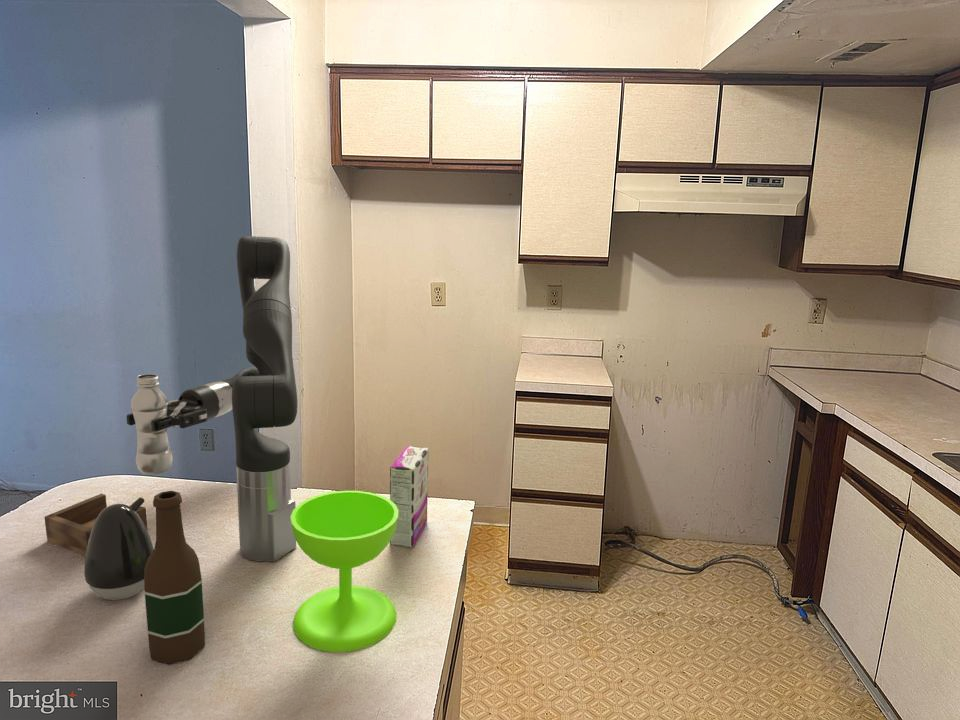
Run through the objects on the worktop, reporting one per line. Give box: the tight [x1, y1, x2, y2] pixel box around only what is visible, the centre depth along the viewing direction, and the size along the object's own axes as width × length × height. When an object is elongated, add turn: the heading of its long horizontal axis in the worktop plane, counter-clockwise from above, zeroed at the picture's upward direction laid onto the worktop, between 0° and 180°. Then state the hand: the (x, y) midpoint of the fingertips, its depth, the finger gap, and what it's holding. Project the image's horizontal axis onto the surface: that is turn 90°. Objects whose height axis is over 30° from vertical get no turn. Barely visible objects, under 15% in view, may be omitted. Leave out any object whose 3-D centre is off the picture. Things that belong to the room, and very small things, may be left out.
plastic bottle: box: [130, 373, 173, 476], centre depth 128 cm, size 6×7×20 cm
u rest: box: [43, 493, 149, 556], centre depth 121 cm, size 12×11×5 cm
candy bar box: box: [389, 445, 429, 548], centre depth 127 cm, size 11×5×16 cm, turn 170°
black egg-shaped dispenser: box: [83, 496, 155, 601], centre depth 104 cm, size 10×10×15 cm
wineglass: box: [290, 490, 399, 653], centre depth 100 cm, size 16×16×18 cm
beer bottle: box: [143, 490, 206, 666], centre depth 91 cm, size 8×8×24 cm
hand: (140, 423), depth 126 cm, fingers closed on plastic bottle, 6 cm apart
